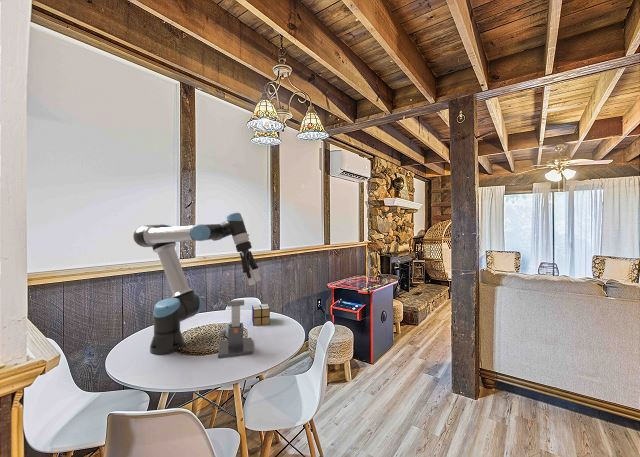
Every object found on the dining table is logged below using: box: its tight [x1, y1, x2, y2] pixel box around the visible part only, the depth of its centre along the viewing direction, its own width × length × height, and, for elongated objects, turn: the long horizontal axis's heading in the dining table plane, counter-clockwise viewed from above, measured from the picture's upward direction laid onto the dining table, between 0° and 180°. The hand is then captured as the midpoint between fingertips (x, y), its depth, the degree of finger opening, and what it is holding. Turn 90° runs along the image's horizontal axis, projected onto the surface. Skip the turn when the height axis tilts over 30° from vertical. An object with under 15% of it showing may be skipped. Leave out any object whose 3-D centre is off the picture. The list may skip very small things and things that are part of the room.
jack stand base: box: [217, 322, 254, 359], centre depth 143 cm, size 16×16×12 cm
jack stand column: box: [226, 299, 245, 328], centre depth 143 cm, size 8×4×22 cm, turn 106°
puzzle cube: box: [251, 303, 271, 327], centre depth 179 cm, size 10×10×10 cm
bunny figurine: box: [219, 321, 232, 339], centre depth 162 cm, size 10×5×15 cm
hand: (255, 282), depth 144 cm, fingers open, 13 cm apart
